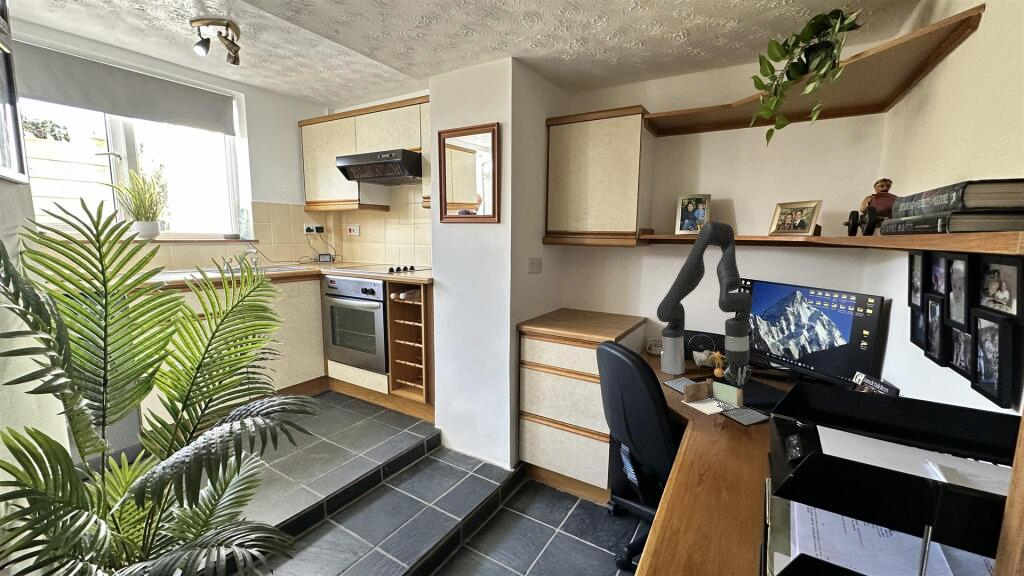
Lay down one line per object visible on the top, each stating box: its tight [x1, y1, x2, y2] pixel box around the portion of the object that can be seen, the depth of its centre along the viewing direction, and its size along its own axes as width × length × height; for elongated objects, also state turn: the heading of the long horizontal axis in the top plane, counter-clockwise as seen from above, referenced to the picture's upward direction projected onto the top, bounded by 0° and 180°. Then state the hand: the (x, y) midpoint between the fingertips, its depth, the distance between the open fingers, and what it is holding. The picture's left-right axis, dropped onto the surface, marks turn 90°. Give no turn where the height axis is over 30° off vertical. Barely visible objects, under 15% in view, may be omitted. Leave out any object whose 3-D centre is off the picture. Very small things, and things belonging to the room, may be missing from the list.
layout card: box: [681, 399, 741, 416], centre depth 143 cm, size 14×14×1 cm
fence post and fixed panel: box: [683, 378, 715, 404], centre depth 147 cm, size 13×2×7 cm, turn 106°
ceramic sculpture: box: [692, 349, 728, 369], centre depth 187 cm, size 11×9×15 cm
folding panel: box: [713, 381, 744, 408], centre depth 142 cm, size 11×2×6 cm, turn 27°
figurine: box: [708, 350, 726, 378], centre depth 170 cm, size 8×6×12 cm
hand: (738, 394), depth 142 cm, fingers closed
